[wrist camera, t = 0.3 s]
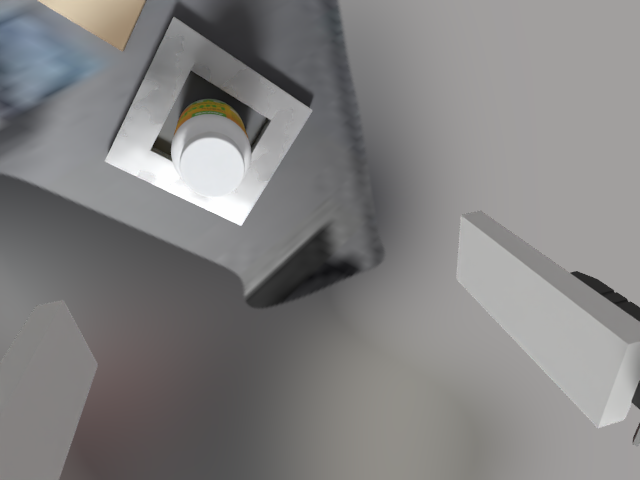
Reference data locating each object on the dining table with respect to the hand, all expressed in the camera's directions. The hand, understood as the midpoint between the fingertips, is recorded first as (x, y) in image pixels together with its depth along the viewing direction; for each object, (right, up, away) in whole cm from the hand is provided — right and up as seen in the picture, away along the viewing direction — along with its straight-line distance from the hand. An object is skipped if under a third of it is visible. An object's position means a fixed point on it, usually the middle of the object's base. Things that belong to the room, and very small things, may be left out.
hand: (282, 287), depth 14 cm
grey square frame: (-8, +11, +20) cm, 24 cm away
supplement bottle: (-8, +11, +20) cm, 24 cm away
